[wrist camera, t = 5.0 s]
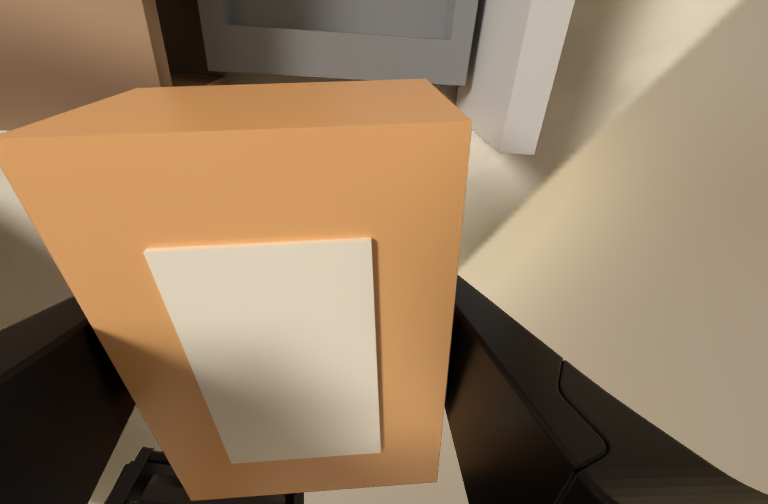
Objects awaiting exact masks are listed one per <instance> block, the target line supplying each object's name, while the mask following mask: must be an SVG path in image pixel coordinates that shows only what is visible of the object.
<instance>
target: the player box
mask: <svg viewBox="0 0 768 504" xmlns="http://www.w3.org/2000/svg"><path fill="white" fill-rule="evenodd" d="M213 85H227V82H226V76H209V75H191V74H174V73H170V71H169V66H168V61H167V56H166V51H165V46H164V41H163V37H162V32H161V27H160V22H159V17H158V12H157V7H156V2H155V0H0V130H8V131H11V130H14V129H17V128H20V127H23V126H26V125H29V124H32V123H35V122H38V121H41V120H44V119H47V118H50V117H53V116H55V115H58V114H61V113H64V112H67V111H70V110H73V109H76V108H79V107H82V106H85V105H88V104H91V103H94V102H97V101H100V100H103V99H106V98H109V97H112V96H115V95H118V94H121V93H123V92H126V91H129V90H132V89H135V88H151V87H182V86H213Z"/></svg>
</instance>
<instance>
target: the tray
mask: <svg viewBox="0 0 768 504" xmlns="http://www.w3.org/2000/svg"><path fill="white" fill-rule="evenodd" d="M197 2H198V8H199V15H200V21H201V27H202V34H203V40H204V47H205V53H206V59H207V66H208V71H220V72H237V73H254V74H271V75H289V76H306V77H323V78H340V79H357V80H398V79H427V80H428V81H429V82H430V83H431V84H442V85H459V87H458V93H457V100H456V107H457V108H459V109H460V110H461V111H462V112H463V113H464V114H465V115H466V116H467V117H468V118H469V119H470V120H472V130H473V131H475V132H476V133H477V134H478V135H479V136H480V137H481V138H482V139H483V140H485V141H486V142H487V143H488V144H489V145H490V146H491V147H492V148H493V149H495V150H496V151H497V152H498V153H506V154H530V155H534V154H535V150H536V146H537V142H538V138H539V135H540V131H541V127H542V123H543V120H544V116H545V112H546V108H547V105H548V101H549V97H550V93H551V90H552V86H553V82H554V78H555V74H556V71H557V67H558V63H559V59H560V56H561V52H562V48H563V44H564V41H565V37H566V33H567V29H568V25H569V22H570V18H571V14H572V10H573V7H574V3H575V0H197Z"/></svg>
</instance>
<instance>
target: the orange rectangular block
mask: <svg viewBox="0 0 768 504" xmlns="http://www.w3.org/2000/svg"><path fill="white" fill-rule="evenodd" d="M471 130H472V120H470V119H469V118H468V117H467V116H466V115H465V114H464V113H463V112H462V111H461V110H460V109H459V108H457V107H456V106H455V105H454V104H453V103H452V102H451V101H450V100H449V99H448V98H447V97H445V96H444V95H443V94H442V93H441V92H440V91H439V90H438V89H437V88H436V87H435V86H433V85H432V84H431V83H430V82H429V81H428V80H427V79H398V80H367V81H337V82H306V83H275V84H244V85H213V86H182V87H151V88H135V89H132V90H129V91H126V92H123V93H121V94H118V95H115V96H112V97H109V98H106V99H103V100H100V101H97V102H94V103H91V104H88V105H85V106H82V107H79V108H76V109H73V110H70V111H67V112H64V113H61V114H58V115H55V116H53V117H50V118H47V119H44V120H41V121H38V122H35V123H32V124H29V125H26V126H23V127H20V128H17V129H14V130H11V131H8V132H5V133H2V134H0V167H1V169H2V170H3V172H4V174H5V176H6V177H7V179H8V181H9V183H10V184H11V186H12V188H13V190H14V191H15V193H16V195H17V197H18V198H19V200H20V202H21V204H22V205H23V207H24V209H25V211H26V212H27V214H28V216H29V218H30V219H31V221H32V223H33V225H34V226H35V228H36V230H37V232H38V233H39V235H40V237H41V239H42V240H43V242H44V244H45V246H46V247H47V249H48V251H49V253H50V254H51V256H52V258H53V260H54V261H55V263H56V265H57V267H58V268H59V270H60V272H61V274H62V275H63V277H64V279H65V281H66V282H67V284H68V286H69V288H70V289H71V291H72V293H73V295H74V296H75V298H76V300H77V302H78V303H79V305H80V307H81V309H82V310H83V312H84V314H85V316H86V317H87V319H88V321H89V323H90V324H91V326H92V328H93V330H94V331H95V333H96V335H97V337H98V338H99V340H100V342H101V344H102V345H103V347H104V349H105V351H106V352H107V354H108V356H109V358H110V359H111V361H112V363H113V365H114V366H115V368H116V370H117V372H118V373H119V375H120V377H121V379H122V380H123V382H124V384H125V386H126V387H127V389H128V391H129V393H130V394H131V396H132V398H133V400H134V401H135V403H136V405H137V407H138V408H139V410H140V412H141V414H142V415H143V417H144V419H145V421H146V422H147V424H148V426H149V428H150V429H151V431H152V433H153V435H154V436H155V438H156V440H157V442H158V443H159V445H160V447H161V449H162V450H163V452H164V454H165V456H166V457H167V459H168V461H169V463H170V464H171V466H172V468H173V470H174V471H175V473H176V475H177V477H178V478H179V480H180V482H181V484H182V485H183V487H184V489H185V491H186V492H187V494H188V496H189V498H190V499H191V501H197V500H210V499H223V498H236V497H249V496H262V495H275V494H288V493H301V492H314V491H327V490H338V489H339V490H340V489H352V488H365V487H379V486H391V485H404V484H417V483H430V482H437V476H438V466H439V456H440V446H441V436H442V425H443V414H444V405H445V395H446V385H447V374H448V364H449V354H450V344H451V334H452V324H453V313H454V303H455V293H456V283H457V273H458V263H459V252H460V242H461V232H462V222H463V212H464V201H465V191H466V181H467V171H468V161H469V151H470V140H471Z"/></svg>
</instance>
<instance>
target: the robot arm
mask: <svg viewBox="0 0 768 504" xmlns="http://www.w3.org/2000/svg"><path fill="white" fill-rule="evenodd" d="M135 405H136V403H135V401H134V400H133V398H132V396H131V394H130V393H129V391H128V389H127V387H126V386H125V384H124V382H123V380H122V379H121V377H120V375H119V373H118V372H117V370H116V368H115V366H114V365H113V363H112V361H111V359H110V358H109V356H108V354H107V352H106V351H105V349H104V347H103V345H102V344H101V342H100V340H99V338H98V337H97V335H96V333H95V331H94V330H93V328H92V326H91V324H90V323H89V321H88V319H87V317H86V316H85V314H84V312H83V310H82V309H81V307H80V305H79V303H78V302H77V300H76V298H75V296H73V297H70V298H68V299H66V300H64V301H62V302H60V303H58V304H56V305H53V306H51V307H49V308H47V309H45V310H43V311H41V312H39V313H36V314H34V315H32V316H30V317H28V318H26V319H24V320H22V321H19V322H17V323H15V324H13V325H11V326H9V327H7V328H5V329H3V330H0V504H88V502H89V500H90V498H91V496H92V494H93V491H94V489H95V487H96V485H97V483H98V481H99V479H100V477H101V475H102V473H103V471H104V469H105V467H106V465H107V463H108V461H109V459H110V456H111V454H112V452H113V450H114V448H115V446H116V444H117V442H118V440H119V438H120V436H121V434H122V432H123V430H124V428H125V426H126V424H127V421H128V419H129V417H130V415H131V413H132V411H133V409H134V407H135ZM444 406H445V410H446V414H447V418H448V422H449V426H450V430H451V433H452V438H453V442H454V446H455V450H456V453H457V458H458V462H459V466H460V470H461V474H462V478H463V482H464V486H465V490H466V494H467V498H468V502H469V504H768V495H767V494H764V493H762V492H760V491H758V490H755V489H753V488H751V487H749V486H747V485H745V484H743V483H741V482H739V481H738V480H736V479H734V478H732V477H730V476H729V475H727V474H726V473H724V472H722V471H721V470H719V469H718V468H716V467H715V466H713V465H712V464H710V463H709V462H707V461H706V460H704V459H703V458H701V457H700V456H699V455H697V454H696V453H694V452H693V451H691V450H690V449H688V448H687V447H685V446H684V445H682V444H681V443H680V442H678V441H677V440H675V439H674V438H672V437H671V436H669V435H668V434H666V433H665V432H664V431H662V430H661V429H659V428H658V427H656V426H655V425H653V424H652V423H650V422H649V421H647V420H646V419H645V418H643V417H641V416H640V415H639V414H637V413H636V412H634V411H633V410H632V409H630V408H629V407H627V406H626V405H625V404H623V403H622V402H620V401H619V400H617V399H616V398H615V397H613V396H612V395H610V394H609V393H608V392H606V391H605V390H603V389H602V388H601V387H600V386H598V385H597V384H596V383H594V382H593V381H592V380H590V379H589V378H588V377H586V376H585V375H584V374H582V373H581V372H580V371H579V370H577V369H576V368H575V367H574V366H572V365H571V364H570V363H569V362H567V361H566V360H564V361H563V358H562V357H561V356H559V355H558V354H557V353H556V352H554V351H553V350H552V349H551V348H549V347H548V346H547V345H546V344H544V343H543V342H542V341H541V340H539V339H538V338H537V337H535V336H534V335H533V334H532V333H530V332H529V331H528V330H526V329H525V328H524V327H523V326H522V325H520V324H519V323H518V322H517V321H515V320H514V319H513V318H512V317H510V316H509V315H508V314H506V313H505V312H504V311H503V310H501V309H500V308H499V307H498V306H496V305H495V304H494V303H493V302H491V301H490V300H489V299H488V298H486V297H485V296H484V295H483V294H481V293H480V292H479V291H478V290H476V289H475V288H474V287H472V286H471V285H470V284H469V283H467V282H466V281H465V280H464V279H462V278H461V277H460V276H459V275H457V283H456V293H455V303H454V313H453V324H452V334H451V344H450V354H449V364H448V374H447V385H446V395H445V405H444ZM104 504H304V492H301V493H288V494H275V495H262V496H249V497H236V498H223V499H210V500H197V501H191V499H190V498H189V496H188V494H187V492H186V491H185V489H184V487H183V485H182V484H181V482H180V480H179V478H178V477H177V475H176V473H175V471H174V470H173V468H172V466H171V464H170V463H169V461H168V459H167V457H166V456H165V454H164V452H160V451H154V448H147V447H142V449H141V450H140V452H139V454H138V455H137V457H136V459H135V461H131V462H130V463H129V464H127V465H125V466H124V468H123V470H122V472H121V474H120V476H119V478H118V480H117V482H116V484H115V486H114V487H113V489H112V491H111V493H110V495H109V496H108V498H107V500H106V501H105V502H104Z"/></svg>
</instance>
